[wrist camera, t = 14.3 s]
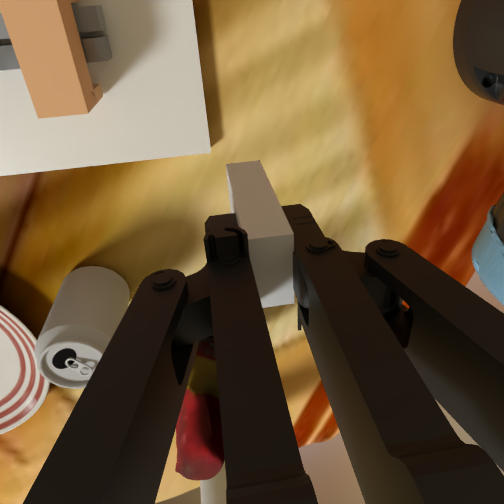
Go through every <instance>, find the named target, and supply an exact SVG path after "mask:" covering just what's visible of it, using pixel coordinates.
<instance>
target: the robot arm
mask: <svg viewBox="0 0 504 504" xmlns="http://www.w3.org/2000/svg"><path fill="white" fill-rule="evenodd" d="M453 51H454V58H455V63H456V67H457V70H458V73H459V75H460V77H461V79H462V80H463V82H464V83H465V85H466V86H467V87H468V88H469V89H470V90H471V91H472V92H473V93H475V94H476V95H478V96H479V97H481V98H484V99H486V100H489V101H492V102H496V103H499V104H502V105H504V0H462V1H461V3H460V6H459V9H458V13H457V17H456V21H455V27H454V36H453ZM226 171H227V181H228V190H229V199H230V209H231V214H223V215H215V216H209V218H208V219H207V221H206V222H205V232H206V234H205V236H204V245H205V252H206V258H207V264H206V265H205V266H204V267H203V268H202V269H201V270H200V271H198V272H197V273H194V274H192V275H189V276H187V277H185V275H184V274H183V273H182V272H180V271H178V270H172V269H166V270H160V271H157V272H154V273H152V274H150V275H149V276H147V277H146V278H145V279H144V280H143V281H142V282H141V284H140V286H139V288H138V290H137V292H136V294H135V295H134V297H133V299H132V301H131V303H130V305H129V307H128V308H127V310H126V312H125V314H124V316H123V318H122V320H121V322H120V323H119V325H118V327H117V329H116V331H115V333H114V335H113V336H112V338H111V340H110V342H109V344H108V346H107V348H106V349H105V351H104V353H103V355H102V357H101V359H100V361H99V362H98V364H97V366H96V368H95V370H94V372H93V374H92V376H91V377H90V379H89V381H88V383H87V385H86V387H85V389H84V390H83V392H82V394H81V396H80V398H79V400H78V402H77V403H76V405H75V407H74V409H73V411H72V413H71V415H70V417H69V418H68V420H67V422H66V424H65V426H64V428H63V430H62V431H61V433H60V435H59V437H58V439H57V441H56V443H55V444H54V446H53V448H52V450H51V452H50V454H49V456H48V458H47V459H46V461H45V463H44V465H43V467H42V469H41V471H40V472H39V474H38V476H37V478H36V480H35V482H34V484H33V485H32V487H31V489H30V491H29V493H28V495H27V497H26V498H25V500H24V502H23V504H155V500H156V496H157V493H158V489H159V486H160V482H161V479H162V475H163V471H164V468H165V464H166V461H167V457H168V454H169V450H170V446H171V443H172V439H173V436H174V432H175V428H176V425H177V421H178V418H179V414H180V411H181V407H182V403H183V400H184V396H185V393H186V389H187V386H188V382H189V378H190V375H191V371H192V368H193V364H194V361H195V357H196V353H197V350H198V341H200V340H202V339H205V338H207V337H209V336H212V335H214V346H215V357H216V369H217V380H218V391H219V403H220V414H221V425H222V437H223V448H224V459H225V471H226V483H227V488H226V503H227V504H318V502H317V498H316V495H315V491H314V488H313V485H312V482H311V480H310V477H309V475H307V474H306V473H305V471H304V468H303V464H302V461H301V457H300V453H299V449H298V445H297V441H296V437H295V433H294V429H293V425H292V421H291V417H290V414H289V410H288V406H287V402H286V398H285V394H284V390H283V386H282V382H281V378H280V374H279V371H278V367H277V363H276V359H275V355H274V351H273V347H272V343H271V339H270V335H269V331H268V327H267V324H266V320H265V316H264V312H263V308H266V307H273V306H280V305H287V304H294V292H295V294H296V297H297V300H298V330H301V325H302V326H303V329H304V332H305V334H306V337H307V340H308V343H309V346H310V349H311V351H312V354H313V357H314V360H315V363H316V365H317V368H318V371H319V374H320V377H321V379H322V382H323V385H324V388H325V391H326V394H327V396H328V399H329V402H330V405H331V408H332V410H333V413H334V416H335V419H336V422H337V424H338V427H339V430H340V433H341V436H342V439H343V441H344V444H345V447H346V450H347V453H348V455H349V458H350V461H351V464H352V467H353V469H354V472H355V475H356V478H357V481H358V484H359V486H360V489H361V492H362V495H363V497H364V500H365V503H366V504H504V476H503V474H502V473H501V471H500V470H499V468H498V467H497V465H498V466H499V467H500V468H501V469H502V470H503V471H504V313H502V312H501V311H499V310H498V309H496V308H495V307H494V306H492V305H491V304H489V303H488V302H486V301H485V300H483V299H482V298H481V297H479V296H478V295H476V294H475V293H473V292H472V291H471V290H469V289H468V288H466V287H465V286H463V285H462V284H461V283H459V282H458V281H456V280H455V279H453V278H452V277H451V276H449V275H448V274H446V273H445V272H443V271H442V270H440V269H439V268H438V267H436V266H435V265H433V264H432V263H430V262H429V261H428V260H426V259H425V258H423V257H422V256H420V255H419V254H418V253H416V252H415V251H413V250H412V249H410V248H409V247H407V246H406V245H404V244H402V243H400V242H398V241H394V240H389V239H387V240H386V239H381V240H375V241H373V242H370V243H369V244H368V245H367V246H366V249H365V253H361V252H348V251H343V250H342V249H341V248H340V246H339V245H338V244H337V243H336V242H335V241H334V240H332V239H330V238H326V237H325V236H324V235H323V233H322V231H321V229H320V228H319V226H318V224H317V223H316V221H315V219H314V218H313V216H312V214H311V212H310V211H309V209H307V208H306V207H304V206H302V205H301V204H296V205H288V206H281V205H280V203H279V201H278V199H277V197H276V194H275V192H274V190H273V188H272V186H271V184H270V182H269V179H268V177H267V175H266V173H265V171H264V169H263V166H262V164H261V162H260V160H258V161H249V162H240V163H231V164H226ZM472 262H473V265H474V268H475V270H476V272H477V273H478V275H479V277H480V279H481V281H482V282H483V284H484V285H485V286H486V287H487V289H488V290H489V291H490V292H491V293H492V294H493V295H494V296H495V298H496V299H498V300H499V301H500V302H501V303H502V304H503V305H504V193H503V194H502V196H501V197H500V199H499V201H498V202H497V204H496V205H494V206H492V207H491V208H490V210H489V212H488V215H487V221H486V223H485V224H484V226H483V228H482V230H481V232H480V234H479V235H478V237H477V239H476V241H475V243H474V245H473V248H472ZM402 300H404V301H405V302H406V303H407V304H408V305H409V306H410V307H409V309H408V308H406V307H405V306H404V305H403V304H402ZM434 398H435V399H436V400H437V401H438V402H439V404H441V406H442V407H443V408H444V409H445V410H446V411H447V412H448V413H449V414H450V415H451V416H452V417H453V418H454V419H455V420H456V422H457V423H458V424H459V425H460V426H461V427H462V428H463V429H464V430H465V431H466V432H467V433H468V434H469V435H470V436H471V437H472V439H473V440H474V441H475V442H476V443H477V444H478V445H479V446H480V447H481V448H480V447H479V446H478V445H472V444H465V443H464V442H463V441H461V440H460V438H459V437H458V436H457V434H456V433H455V431H454V430H453V428H452V426H451V425H450V423H449V421H448V420H447V418H446V417H445V415H444V414H443V412H442V410H441V409H440V407H439V406H438V404H437V402H436V401H435V399H434ZM495 463H496V464H497V465H496V464H495Z"/></svg>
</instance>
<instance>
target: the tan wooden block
mask: <svg viewBox="0 0 504 504" xmlns="http://www.w3.org/2000/svg"><path fill="white" fill-rule="evenodd" d="M74 2H79V0H0V11H1V14H2V17H3V20H4V23H5V25H6V28H7V31H8V34H9V37H10V40H11V43H12V45H13V48H14V51H15V54H16V57H17V60H18V62H19V65H20V68H21V71H22V74H23V77H24V80H25V82H26V85H27V88H28V91H29V94H30V97H31V100H32V102H33V105H34V108H35V111H36V114H37V117H38V119H40V118H50V117H60V116H70V115H80V114H88V113H89V112H90V111H91V110H92V109H93V108H94V106H95V105H96V104H97V103H98V102H99V101H100V99H101V98H102V97H103V94H102V90H101V86H100V84H92V81H91V78H90V74H89V70H88V66H87V62H86V59H85V55H84V51H83V47H82V44H81V40H80V36H79V32H78V29H77V25H76V21H75V17H74V14H73V10H72V6H71V3H74Z"/></svg>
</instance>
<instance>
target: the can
mask: <svg viewBox="0 0 504 504" xmlns="http://www.w3.org/2000/svg"><path fill="white" fill-rule="evenodd" d="M129 299H130V290H129V287H128V284H127V283H126V281H125V280H124V279H123V278H122V277H121V276H120V275H119V274H117V273H116V272H114V271H113V270H110V269H107V268H104V267H98V266H87V267H81V268H78V269H76V270H74V271H72V272H70V273H69V274H68V275H67V276H66V277H65V278H64V280H63V283H62V285H61V287H60V289H59V292H58V294H57V296H56V299H55V301H54V303H53V305H52V308H51V310H50V312H49V315H48V317H47V319H46V322H45V324H44V326H43V328H42V331H41V333H40V335H39V338H38V340H37V342H36V345H35V347H34V350H35V358H36V359H37V368H38V370H39V372H40V373H41V375H42V376H43V377H44V378H45V379H47V380H48V381H49V382H51V383H53V384H55V385H57V386H60V387H65V388H73V389H80V388H85V387H86V385H87V383H88V381H89V379H90V377H91V376H92V374H93V372H94V370H95V368H96V366H97V364H98V362H99V361H100V359H101V357H102V355H103V353H104V351H105V349H106V348H107V346H108V344H109V342H110V340H111V338H112V336H113V335H114V333H115V331H116V329H117V327H118V325H119V323H120V322H121V320H122V318H123V316H124V314H125V312H126V310H127V308H128V305H129Z"/></svg>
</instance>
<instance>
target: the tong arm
mask: <svg viewBox="0 0 504 504" xmlns="http://www.w3.org/2000/svg"><path fill="white" fill-rule="evenodd" d="M80 40H81V44H82V47H83V51H84V55H85V59H86V62H87V63H91V62H102V61H108V60H110V59H111V58H112V52H111V48H110V44H109V39H108V35H101V36H89V37H80ZM13 69H21V68H20V65H19V62H18V60H17V57H16V54H15V51H14V48H13V45H12V43H6V44H0V71H1V70H13Z"/></svg>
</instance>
